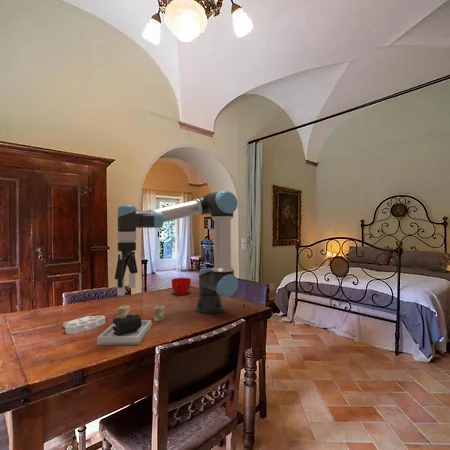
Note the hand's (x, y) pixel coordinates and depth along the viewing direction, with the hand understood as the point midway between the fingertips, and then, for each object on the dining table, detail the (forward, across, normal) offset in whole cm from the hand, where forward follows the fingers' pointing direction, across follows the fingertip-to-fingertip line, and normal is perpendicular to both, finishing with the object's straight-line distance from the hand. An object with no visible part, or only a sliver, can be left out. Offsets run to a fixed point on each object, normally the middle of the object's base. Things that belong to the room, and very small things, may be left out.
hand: (126, 291), depth 121 cm
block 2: (+19, -21, +9) cm, 29 cm away
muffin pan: (+19, -10, -23) cm, 32 cm away
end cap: (+18, 0, 0) cm, 18 cm away
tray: (+19, 0, 0) cm, 19 cm away
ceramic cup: (+19, -72, +11) cm, 75 cm away
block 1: (+19, -21, -9) cm, 29 cm away
